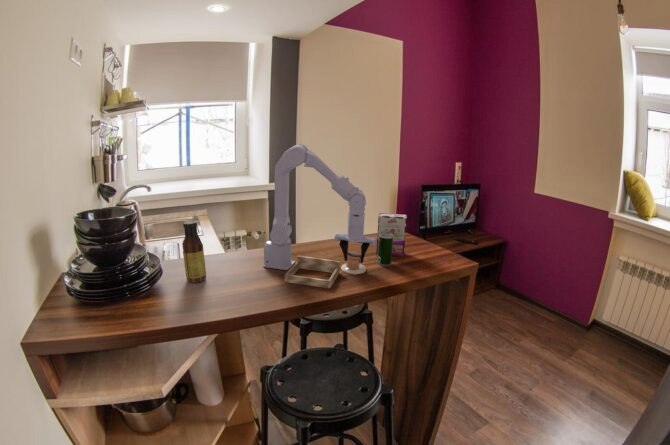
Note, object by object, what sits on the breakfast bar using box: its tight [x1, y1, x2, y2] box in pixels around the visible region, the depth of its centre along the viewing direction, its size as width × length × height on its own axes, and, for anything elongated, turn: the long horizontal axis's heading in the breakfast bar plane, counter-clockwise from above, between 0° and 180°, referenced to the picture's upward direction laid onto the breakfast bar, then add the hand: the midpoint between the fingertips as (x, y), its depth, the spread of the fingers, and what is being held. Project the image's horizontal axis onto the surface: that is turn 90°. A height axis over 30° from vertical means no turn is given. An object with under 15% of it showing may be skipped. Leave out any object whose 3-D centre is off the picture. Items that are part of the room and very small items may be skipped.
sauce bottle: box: [181, 220, 207, 284], centre depth 119 cm, size 7×6×20 cm
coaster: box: [340, 263, 367, 276], centre depth 134 cm, size 9×9×1 cm
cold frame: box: [284, 255, 341, 289], centre depth 126 cm, size 16×13×4 cm
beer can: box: [376, 232, 393, 267], centre depth 138 cm, size 5×5×12 cm
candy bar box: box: [375, 212, 408, 257], centre depth 148 cm, size 11×5×16 cm, turn 81°
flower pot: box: [345, 251, 361, 269], centre depth 133 cm, size 5×5×5 cm
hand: (353, 261), depth 133 cm, fingers closed on flower pot, 5 cm apart
